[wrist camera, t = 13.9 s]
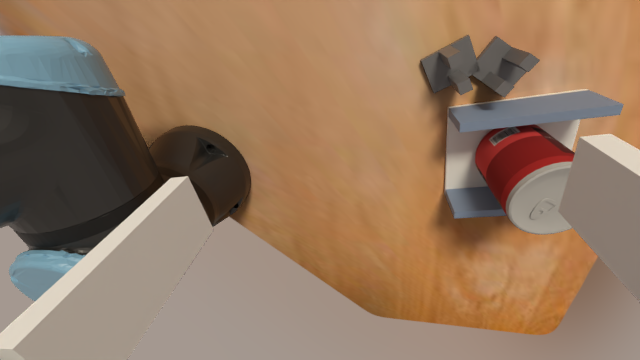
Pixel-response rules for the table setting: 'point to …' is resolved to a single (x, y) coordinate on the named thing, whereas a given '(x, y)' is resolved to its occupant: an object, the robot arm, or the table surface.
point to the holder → (480, 118)
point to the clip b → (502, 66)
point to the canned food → (526, 176)
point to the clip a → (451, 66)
